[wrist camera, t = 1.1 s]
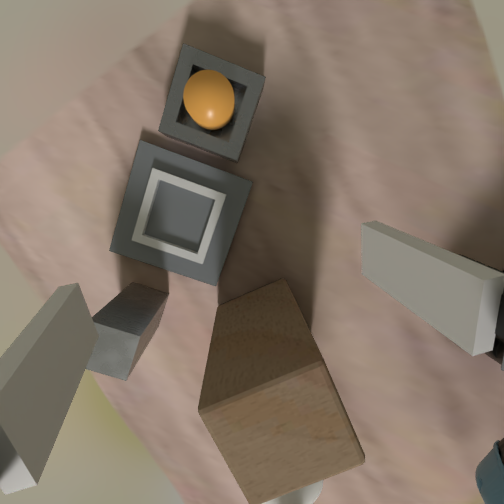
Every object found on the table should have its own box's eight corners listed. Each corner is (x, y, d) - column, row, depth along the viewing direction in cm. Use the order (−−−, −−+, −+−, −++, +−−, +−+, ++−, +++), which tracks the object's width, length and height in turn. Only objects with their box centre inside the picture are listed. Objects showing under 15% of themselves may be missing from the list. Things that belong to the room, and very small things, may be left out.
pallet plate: (252, 182, 39) (253, 181, 37) (216, 283, 41) (215, 288, 39) (143, 141, 37) (137, 138, 35) (113, 248, 40) (105, 252, 38)
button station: (263, 88, 36) (265, 76, 33) (237, 163, 38) (237, 160, 34) (189, 58, 36) (183, 43, 32) (166, 136, 37) (158, 130, 33)
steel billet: (169, 294, 41) (140, 336, 30) (158, 326, 42) (126, 380, 31) (132, 282, 41) (88, 320, 29) (122, 315, 42) (75, 366, 30)
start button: (241, 90, 33) (241, 81, 30) (226, 136, 34) (224, 132, 31) (196, 72, 33) (192, 61, 30) (182, 119, 34) (176, 113, 31)
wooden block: (216, 305, 42) (194, 411, 22) (284, 276, 41) (323, 358, 22) (246, 366, 44) (250, 511, 24) (311, 338, 43) (369, 465, 24)
